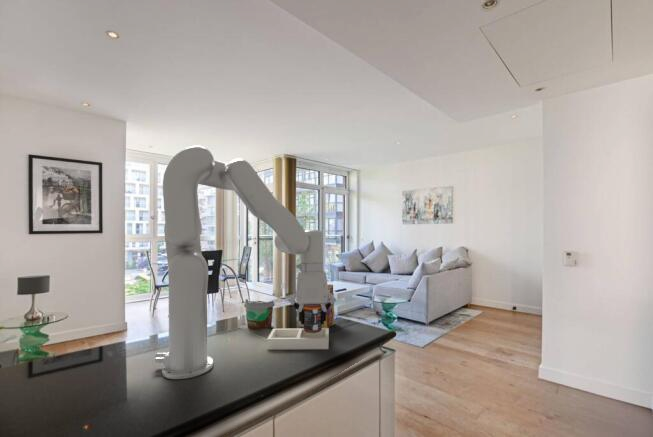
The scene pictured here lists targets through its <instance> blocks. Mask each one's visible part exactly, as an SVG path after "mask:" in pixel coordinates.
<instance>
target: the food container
mask: <svg viewBox="0 0 653 437" xmlns="http://www.w3.org/2000/svg"><path fill="white" fill-rule="evenodd" d="M243 303H244V304H243V307H244V308H245V313H246V322H247V328H248V329H249V330H252V331H253V330H254V331H255V330H256V331H259V330H266V329H270V328H271V327H272V324H273V310H274V307H275V305H276V304H275V301H274V300H270V301H262V300H256V301H252V300H249V299H248V298H246V299H245V301H244V302H243Z"/></svg>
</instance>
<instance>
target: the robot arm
mask: <svg viewBox="0 0 653 437" xmlns="http://www.w3.org/2000/svg"><path fill="white" fill-rule="evenodd" d="M163 173H164V174H163V179H162V195H163V198H162V199H163V210H164V228H163V233H164V241H165V250H166V258H167V259H166V260H167V267H168V268H167V269H168V270H167V272H168V274H167V275H168V352H161V351H160V352H156V353H155V356H154V363H155V364H162V363H163V364H164V366H163V367H162V369H161V375H162V376H163V377H164V378H165V379H166V378H167V379H169V380H184V379H185V380H186V379H191V378H195V377H198V376H200V375H203V374H205V373H207V372H209V371H210V370H211V369H212V368H213V367H214V359H213V358H212V357H211V356H209V355H208V285H209V283H208V282H209V267H208V263H207V261H206V258H205V257H204V256H203V253H202V243H201V235H202V232H203V226H202V222H201V216H200V209H199V194H198V187H199V185H202V186H206V187H211V188H215V189H220V190H226V191H233V192H234V193H235V194H236V195H237V196H238V198H239V199H240V200H241V201H242V203H243V204H244V206H245V207H246V208H247V209H248V211H249V212H250V214H251V215H252V216H254V217H255V218H257V219H258V220H259V221H262V222H263V223H265V224H266V225H267V226H269V227H270V229H272V230H273V231H274V232H275V234H276V236H275V238H274V245H275V247H276V249H277V250H278V251H280V252H281V253H283V254H284V253H285V254H289V255H296V256H297V255H300V258H299V259H300V263H297V264H295V268H296V269H298V270H299V271H298V272H297V278H296V287H295V288H296V291H295V292H294V293H293V295H291V297H290V298H289V299H288V302H289V303H290V304H291V305H292V306H293V307H294V308H295V309H296V310H297V313H298V312H299V321H301V325H303V324H304V310H303V306H304V304H320V305H321V307H322V312H321V319H322V325H324V321H326V311H327V310H328V309H329V308H330V307H331V305H332V304H333V303H334V304H335V302H336V301H337V298H336V297H335V296H333V295H332V294H331V293H330V292H329V291H328V285H327V284H328V278H327V272H326V271H324V233H323V232H322V231H321V230H320V229H304V227H303V226H302V225H301V223H300V222H299V221H298V218H296V217H295V216H294V214H293V213H292V212H291V211H290V210H289V209H288V208H286V206H284V205H283V204H282V203H281V202H280V201H279V200H278V199H277V198H276V197H275V196H274V195H273V194H272V192H271V191H270V190H269V188H268V187H267V185H266V184H265V183H264V181H263V179H261V177H260V175H259V174H258V173H257V171H256V170H255V169H254V167H253V166H252V165H251V163H250V162H248V161H247V160H245V159H242V158H235V159H233V160H230V161H229V162H223V161H220V160H215V159H214V156H213V154H212V152H211V151H210V150H209V149H208V148H206V147H205V146H201V145H192V146H189V147H186V148H184V149H182V150H181V151H179V152H178V153H176V154H175V155H174V156H173V157H172V159H171V160H170V161H169V162H168V164H167V166H166V168H165V171H164V172H163ZM328 297H329V298H330V299H331V300H330V301H329V302H328V303H327V304H325V303H326V302H327V301H328ZM295 299H296V300H295ZM298 303H299V304H300V305H299V304H298Z"/></svg>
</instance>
